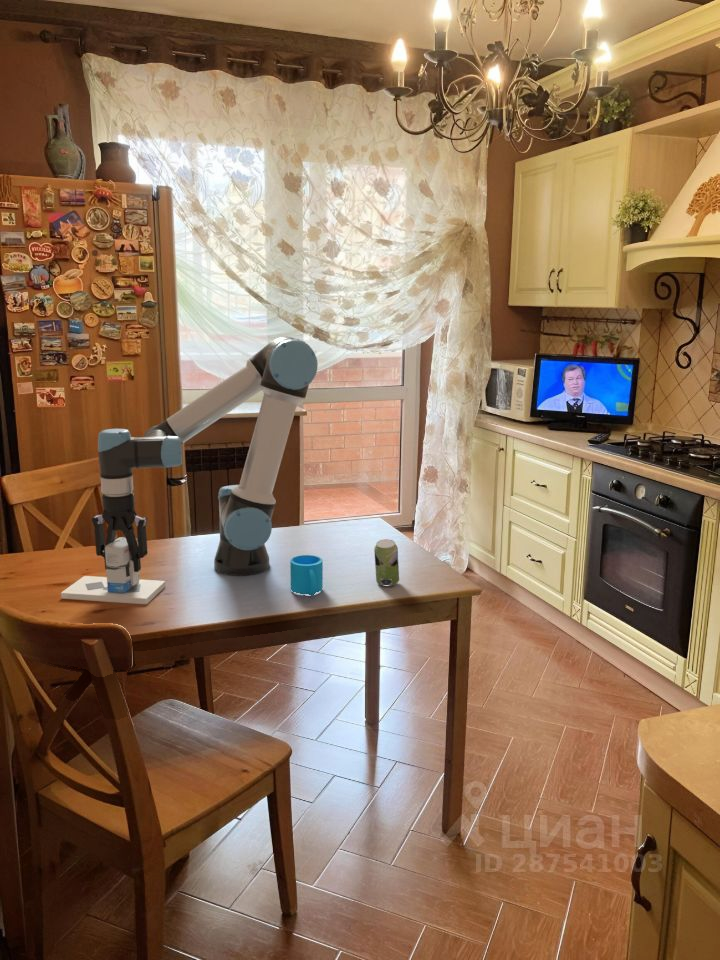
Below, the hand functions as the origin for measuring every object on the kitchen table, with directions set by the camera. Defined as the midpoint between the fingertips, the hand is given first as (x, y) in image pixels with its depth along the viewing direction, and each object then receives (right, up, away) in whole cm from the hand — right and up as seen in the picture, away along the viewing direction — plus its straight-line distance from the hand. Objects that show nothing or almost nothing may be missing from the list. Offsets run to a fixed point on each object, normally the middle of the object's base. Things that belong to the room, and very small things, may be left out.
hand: (123, 582), depth 190 cm
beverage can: (+66, -2, +9) cm, 67 cm away
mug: (+46, -3, +2) cm, 46 cm away
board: (-3, -3, +1) cm, 4 cm away
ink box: (0, -1, 0) cm, 1 cm away
